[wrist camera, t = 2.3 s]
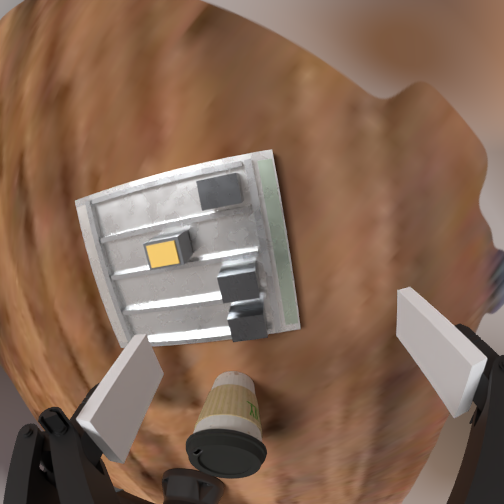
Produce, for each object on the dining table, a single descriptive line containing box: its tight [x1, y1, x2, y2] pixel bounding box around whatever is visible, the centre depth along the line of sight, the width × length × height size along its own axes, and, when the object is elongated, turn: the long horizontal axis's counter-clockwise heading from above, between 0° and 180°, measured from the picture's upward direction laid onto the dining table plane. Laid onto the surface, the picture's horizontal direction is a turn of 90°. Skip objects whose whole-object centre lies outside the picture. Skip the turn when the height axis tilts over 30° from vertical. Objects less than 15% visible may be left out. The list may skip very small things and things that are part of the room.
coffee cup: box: [186, 371, 267, 479], centre depth 33 cm, size 10×10×15 cm
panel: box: [75, 150, 301, 348], centre depth 32 cm, size 26×22×6 cm
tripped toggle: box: [143, 230, 193, 270], centre depth 30 cm, size 4×3×4 cm
